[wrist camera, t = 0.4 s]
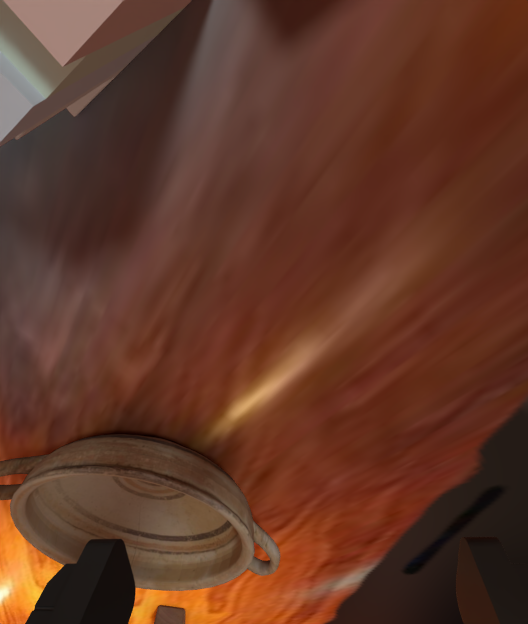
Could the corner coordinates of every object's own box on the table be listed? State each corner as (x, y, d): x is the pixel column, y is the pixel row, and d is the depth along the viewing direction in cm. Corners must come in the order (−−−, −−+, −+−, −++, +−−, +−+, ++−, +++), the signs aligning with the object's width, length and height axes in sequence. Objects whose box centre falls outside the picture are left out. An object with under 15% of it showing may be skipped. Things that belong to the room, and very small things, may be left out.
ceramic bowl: (8, 476, 67) (-33, 546, 60) (22, 348, 50) (-32, 423, 42) (244, 544, 74) (235, 615, 66) (328, 452, 57) (330, 533, 49)
